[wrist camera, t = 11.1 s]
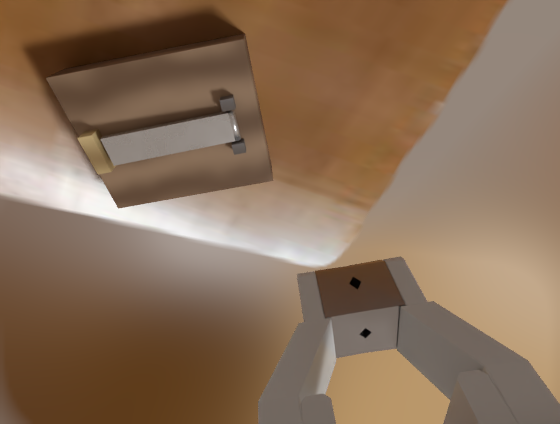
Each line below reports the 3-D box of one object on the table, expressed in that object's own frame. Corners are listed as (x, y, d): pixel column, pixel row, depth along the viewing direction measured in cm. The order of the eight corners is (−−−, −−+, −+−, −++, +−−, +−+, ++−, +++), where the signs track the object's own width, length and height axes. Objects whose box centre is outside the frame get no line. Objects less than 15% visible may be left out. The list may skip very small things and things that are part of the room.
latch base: (64, 68, 36) (35, 82, 31) (244, 33, 35) (243, 41, 30) (128, 191, 45) (113, 216, 40) (271, 165, 44) (273, 188, 39)
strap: (102, 136, 35) (100, 139, 35) (234, 109, 35) (234, 112, 35) (116, 162, 37) (113, 165, 36) (241, 137, 37) (241, 140, 36)
